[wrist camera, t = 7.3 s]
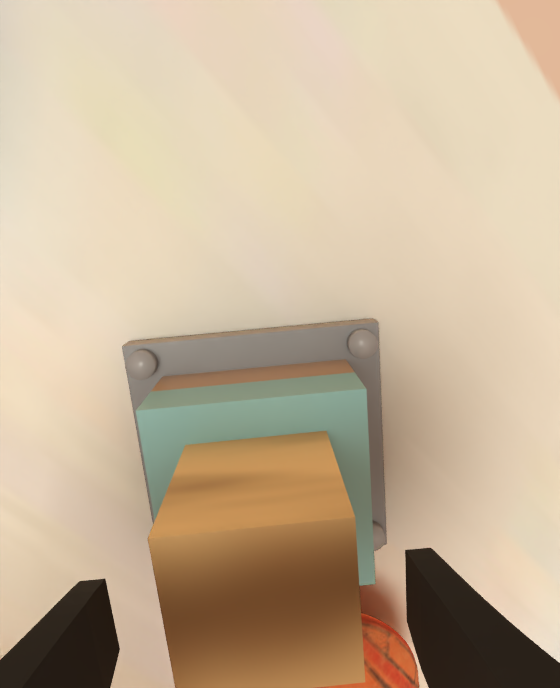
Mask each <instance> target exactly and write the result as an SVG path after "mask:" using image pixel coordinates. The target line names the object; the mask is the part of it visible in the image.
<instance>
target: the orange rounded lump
mask: <svg viewBox="0 0 560 688" xmlns="http://www.w3.org/2000/svg"><path fill="white" fill-rule="evenodd" d="M361 620H362V636H363V653H364V669H365V682H363V683H354V684H345V685H335V686H326V687H317V688H419V682H418V670H417V665H416V662H415V658H414V656H413V653H412V651H411V649H410V647H409V646H408V644H407V643H406V641H405V640H404V639H403V638H402V637H401V636H400V635H399V634H398V633H397V632H396V631H395V630H394V629H392V628H391V627H390V626H388V625H387V624H385V623H384V622H382V621H380V620H378V619H376V618H374V617H371V616H369V615H366V614H363V613H361Z"/></svg>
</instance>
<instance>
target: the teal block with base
mask: <svg viewBox="0 0 560 688" xmlns="http://www.w3.org/2000/svg"><path fill="white" fill-rule="evenodd" d="M122 349H123V355H124V360H125V368H126V372H127V378H128V383H129V389H130V395H131V400H132V406H133V412H134V418H135V423H136V429H137V435H138V440H139V446H140V452H141V458H142V463H143V469H144V475H145V480H146V486H147V492H148V498H149V503H150V509H151V515H152V520H153V524H154V522H155V519H156V517H157V514H158V512H159V509H160V507H161V504H162V502H163V499H164V497H165V494H166V492H167V489H168V487H169V484H170V482H171V479H172V477H173V474H174V472H175V469H176V467H177V464H178V462H179V459H180V457H181V454H182V452H183V449H184V447H185V445H189V444H199V443H209V442H219V441H229V440H239V439H248V438H258V437H268V436H278V435H288V434H298V433H308V432H318V431H327V434H328V437H329V440H330V443H331V446H332V449H333V452H334V455H335V458H336V461H337V464H338V467H339V470H340V473H341V476H342V479H343V482H344V485H345V488H346V491H347V494H348V497H349V500H350V503H351V506H352V509H353V512H354V515H355V522H356V538H357V555H358V571H359V586H362V585H371V584H375V565H374V551H376V550H378V549H380V548H381V547H382V546H383V545H386V544H387V539H386V513H385V486H384V460H383V434H382V407H381V381H380V355H379V329H378V322H377V321H376V320H374V319H373V318H372V319H362V320H351V321H340V322H329V323H319V324H308V325H297V326H287V327H276V328H265V329H255V330H244V331H233V332H222V333H212V334H201V335H190V336H180V337H169V338H158V339H147V340H137V341H129V342H127V343H126V344H125V345H123V346H122Z"/></svg>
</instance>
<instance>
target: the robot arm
mask: <svg viewBox="0 0 560 688" xmlns="http://www.w3.org/2000/svg"><path fill="white" fill-rule="evenodd" d="M405 556H406V603H407V623H408V627H409V630H410V633H411V637H412V640H413V644H414V647H415V650H416V653H417V657H418V660H419V663H420V666H421V669H422V672H423V674H424V677H425V679H426V682H427V684H428V687H429V688H560V663H559V662H558V661H556V660H555V659H554V658H552V657H551V656H550V655H549V654H547V653H546V652H545V651H544V650H543V649H541V648H540V647H539V646H538V645H536V644H535V643H534V642H533V641H532V640H530V639H529V638H528V637H527V636H526V635H524V634H523V633H522V632H521V631H520V630H519V629H517V628H516V627H515V626H514V625H513V624H512V623H510V622H509V621H508V620H507V619H506V618H505V617H504V616H503V615H501V614H500V613H499V612H498V611H497V610H496V609H495V608H494V607H493V606H491V605H490V604H489V603H488V602H487V601H486V600H485V599H484V598H483V597H482V596H481V595H479V594H478V593H477V592H476V591H475V590H474V589H473V588H472V587H471V586H470V585H469V584H468V583H467V582H466V581H465V580H464V579H463V578H462V577H460V576H459V575H458V574H457V573H456V572H455V571H454V570H453V569H452V568H451V567H450V566H449V565H448V564H447V563H446V562H445V561H444V560H443V559H442V558H441V557H440V556H439V555H438V554H437V553H436V552H435V551H434V550H433V549H431V548H423V549H413V550H405ZM119 650H120V648H119V643H118V639H117V634H116V629H115V624H114V619H113V614H112V609H111V604H110V600H109V595H108V590H107V585H106V580H105V579H98V580H88V581H80V582H78V583H77V584H76V585H75V586H74V587H73V588H72V589H71V590H70V591H69V592H68V593H67V594H66V595H65V596H64V597H63V598H62V599H61V600H60V601H59V602H58V603H57V604H56V605H55V606H54V607H53V608H52V609H51V610H50V611H49V612H48V613H47V614H46V615H45V616H44V617H43V618H42V619H41V620H40V621H39V622H38V623H37V624H36V625H35V626H34V627H33V628H32V629H31V630H30V631H29V632H28V633H27V634H26V635H25V636H24V637H23V638H22V639H21V640H20V641H19V642H18V643H17V644H16V645H15V646H14V647H13V648H12V649H11V650H10V651H9V652H8V653H7V654H6V655H5V656H4V657H3V658H2V659H1V660H0V688H110V686H111V683H112V679H113V675H114V671H115V666H116V662H117V658H118V654H119Z"/></svg>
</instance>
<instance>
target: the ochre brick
mask: <svg viewBox="0 0 560 688" xmlns="http://www.w3.org/2000/svg"><path fill="white" fill-rule="evenodd" d="M148 543H149V548H150V553H151V559H152V564H153V570H154V575H155V580H156V586H157V591H158V597H159V602H160V607H161V613H162V618H163V624H164V629H165V634H166V640H167V645H168V651H169V656H170V661H171V667H172V672H173V678H174V683H175V688H317V687H326V686H335V685H345V684H354V683H363V682H365V669H364V653H363V636H362V620H361V604H360V587H359V571H358V555H357V538H356V522H355V515H354V512H353V509H352V506H351V503H350V500H349V497H348V494H347V491H346V488H345V485H344V482H343V479H342V476H341V473H340V470H339V467H338V464H337V461H336V458H335V455H334V452H333V449H332V446H331V443H330V440H329V437H328V434H327V431H318V432H308V433H298V434H288V435H278V436H268V437H258V438H248V439H239V440H229V441H219V442H209V443H199V444H189V445H185V447H184V449H183V452H182V454H181V457H180V459H179V462H178V464H177V467H176V469H175V472H174V474H173V477H172V479H171V482H170V484H169V487H168V489H167V492H166V494H165V497H164V499H163V502H162V504H161V507H160V509H159V512H158V514H157V517H156V519H155V522H154V524H153V527H152V529H151V532H150V534H149V537H148Z"/></svg>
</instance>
